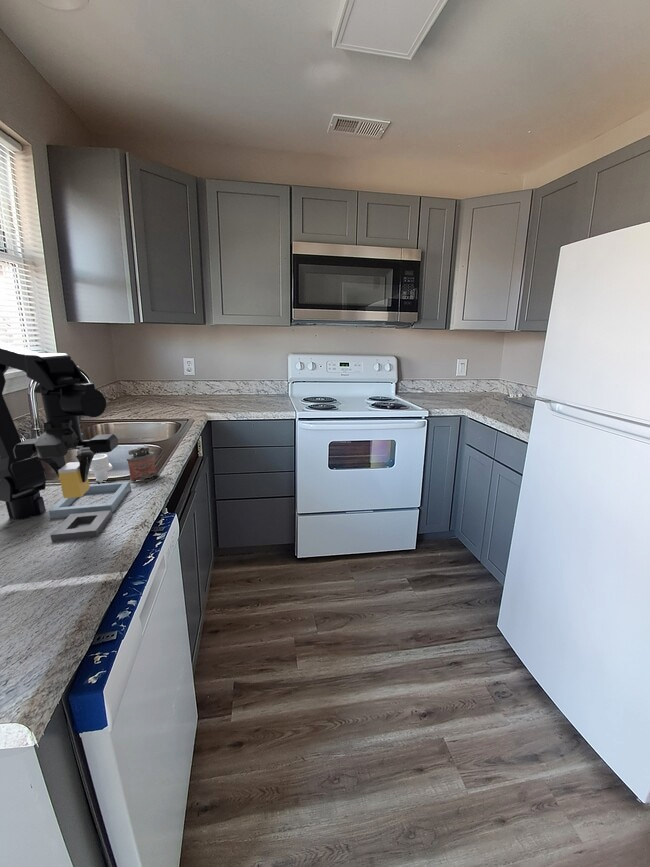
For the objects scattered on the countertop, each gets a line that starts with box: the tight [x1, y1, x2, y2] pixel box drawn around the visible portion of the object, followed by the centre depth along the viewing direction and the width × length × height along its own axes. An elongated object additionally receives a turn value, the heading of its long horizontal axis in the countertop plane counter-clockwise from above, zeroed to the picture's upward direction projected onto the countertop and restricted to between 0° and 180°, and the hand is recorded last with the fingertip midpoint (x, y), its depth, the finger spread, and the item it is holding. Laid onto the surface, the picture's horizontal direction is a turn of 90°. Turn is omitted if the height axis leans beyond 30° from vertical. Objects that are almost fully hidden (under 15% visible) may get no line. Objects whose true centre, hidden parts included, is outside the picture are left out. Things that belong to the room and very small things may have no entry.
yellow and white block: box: [58, 461, 90, 498], centre depth 89 cm, size 4×5×6 cm
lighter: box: [126, 446, 157, 481], centre depth 122 cm, size 8×3×10 cm, turn 141°
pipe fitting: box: [88, 453, 113, 482], centre depth 121 cm, size 6×7×8 cm
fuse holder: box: [50, 510, 113, 542], centre depth 91 cm, size 9×10×2 cm
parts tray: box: [48, 480, 132, 519], centre depth 105 cm, size 14×16×3 cm
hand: (75, 482), depth 89 cm, fingers closed on yellow and white block, 3 cm apart
